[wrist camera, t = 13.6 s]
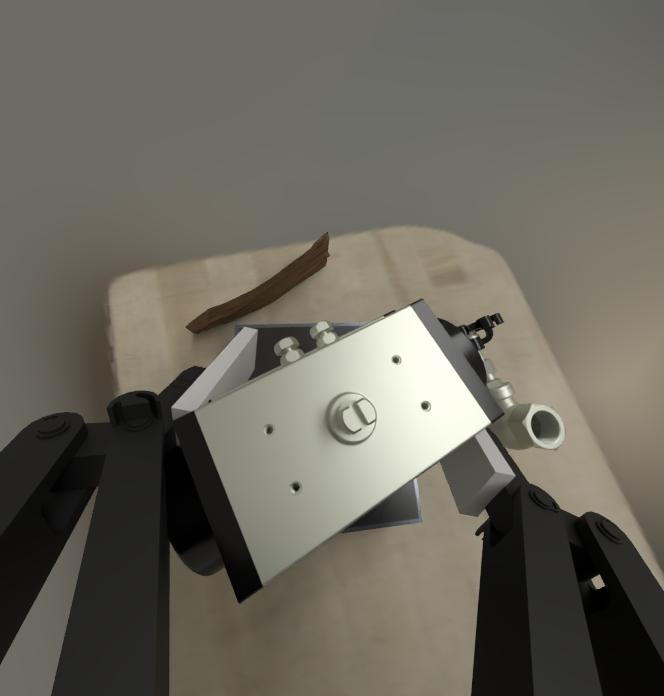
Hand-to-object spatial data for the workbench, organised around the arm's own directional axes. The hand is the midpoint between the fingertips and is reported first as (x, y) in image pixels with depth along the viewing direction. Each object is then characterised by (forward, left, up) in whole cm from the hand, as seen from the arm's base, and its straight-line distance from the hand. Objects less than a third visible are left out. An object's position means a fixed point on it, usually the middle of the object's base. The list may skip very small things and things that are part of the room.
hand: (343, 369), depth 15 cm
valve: (-1, -16, -11) cm, 19 cm away
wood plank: (+10, +6, -11) cm, 16 cm away
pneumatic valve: (-3, +1, -4) cm, 5 cm away
